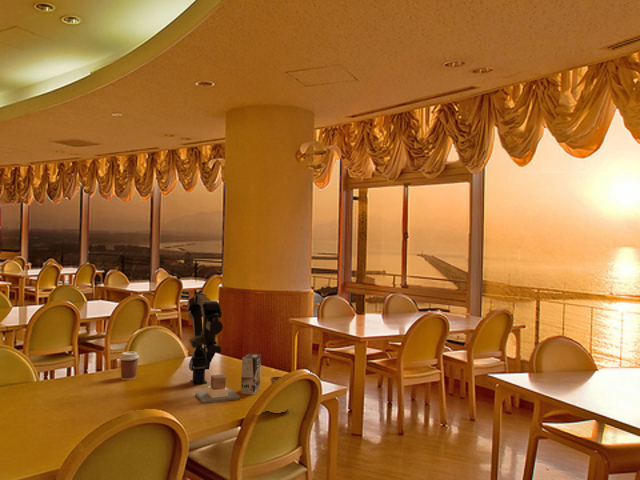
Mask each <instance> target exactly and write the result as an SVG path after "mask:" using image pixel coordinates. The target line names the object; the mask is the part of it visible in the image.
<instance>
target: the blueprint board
mask: <svg viewBox="0 0 640 480" xmlns="http://www.w3.org/2000/svg"><path fill="white" fill-rule="evenodd" d="M195 396H196V397H197V398H198V399H199V400H200V402H201V403H202V404H209V403H216V402H217V403H218V402H227V401H235V400H240V399H241V396H240V395H239V394H237V393H236V392H235V391H234V390H233V389H232V388H228V387H226V386H225V389H218V390H213V389H212V388H211V385H209V386H207V391H201V392H200V391H199V392H195Z"/></svg>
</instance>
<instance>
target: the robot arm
mask: <svg viewBox="0 0 640 480" xmlns="http://www.w3.org/2000/svg"><path fill="white" fill-rule="evenodd" d="M186 311H187V313H188V316H189V318H190V319H191V320H192V335H193V337H192V338H189V340H188V341H189V344H190V346H191V347H192V348H193V349H194V350H193V351H192V354H191V357H190V360H189V363H188V370H190V371H191V372H192V377H191V378H192V379H190V380H189V381H190V382H191V384H192V385H200V384H207V383H208V381H207V380H206V378H205V377H206V370H210V366H211V362H212V360H213V358H214V357H215V356H216V355H215V354H216V353H222V347H221V345H219V344H218V342H217V340H216V337H217V336H218V334H219V333H221V332H222V330H223V327H224V325H223V323H222V322H221V321H220V320H219V318H220V319H222V315H223V312H222V308H221V305H220V303H219V302H218V300H211V299H209V298H208V297H207V295H206V294H205V293H196V294H194V295H193V297H191V298H190V299H188V301H187V303H186Z"/></svg>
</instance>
